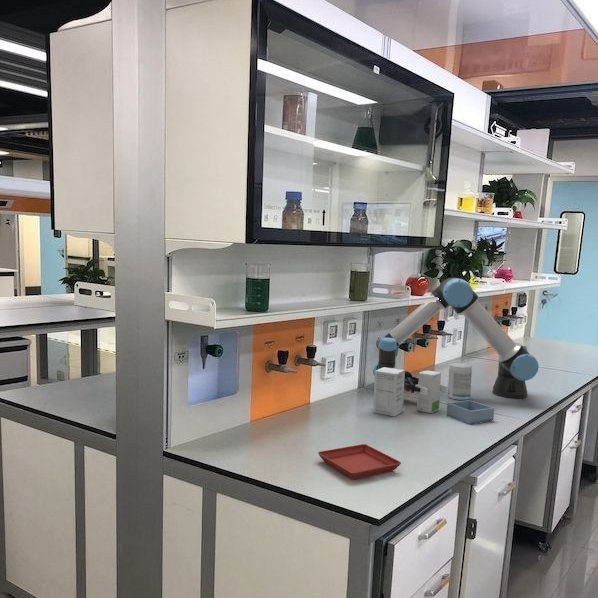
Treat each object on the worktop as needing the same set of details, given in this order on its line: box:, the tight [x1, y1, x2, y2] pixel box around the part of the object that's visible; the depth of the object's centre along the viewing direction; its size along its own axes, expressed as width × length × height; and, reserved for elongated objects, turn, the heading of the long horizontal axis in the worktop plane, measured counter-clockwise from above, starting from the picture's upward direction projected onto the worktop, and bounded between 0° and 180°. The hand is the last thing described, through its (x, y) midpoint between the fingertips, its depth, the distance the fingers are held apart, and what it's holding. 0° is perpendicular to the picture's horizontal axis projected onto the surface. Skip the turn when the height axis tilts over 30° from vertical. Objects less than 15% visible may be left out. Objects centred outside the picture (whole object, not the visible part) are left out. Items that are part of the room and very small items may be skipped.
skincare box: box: [416, 370, 442, 414], centre depth 233 cm, size 8×7×16 cm
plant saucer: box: [317, 443, 402, 480], centre depth 171 cm, size 18×18×3 cm
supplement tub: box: [447, 362, 473, 401], centre depth 255 cm, size 10×10×15 cm
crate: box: [446, 399, 495, 425], centre depth 225 cm, size 12×12×5 cm
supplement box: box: [372, 367, 406, 417], centre depth 228 cm, size 10×9×17 cm
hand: (436, 390), depth 229 cm, fingers closed on skincare box, 9 cm apart
